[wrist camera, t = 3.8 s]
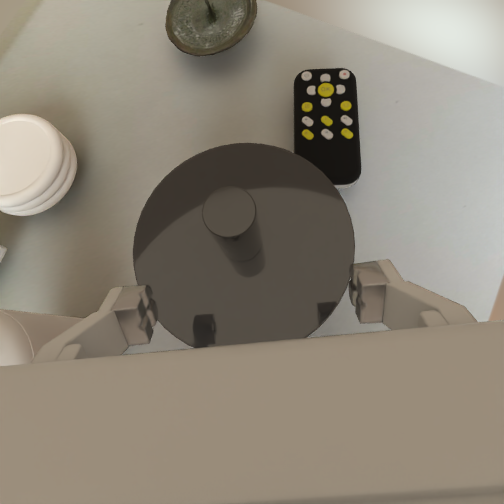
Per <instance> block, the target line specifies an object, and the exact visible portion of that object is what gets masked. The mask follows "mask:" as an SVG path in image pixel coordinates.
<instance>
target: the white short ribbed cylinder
mask: <svg viewBox="0 0 504 504" xmlns="http://www.w3.org/2000/svg"><path fill="white" fill-rule="evenodd" d="M76 171H77V158H76V153H75V150H74V148H73V146H72V144H71V143H70V141H69V140H68V139H67V138H66V137H65V136H64V135H62V133H61V132H60V131H58V130H57V129H56V128H55V127H54V126H53V125H52V124H51V123H50V122H48V121H47V120H45V119H43V118H41V117H39V116H36V115H31V114H14V115H9V116H6V117H3V118H0V211H2V212H4V213H7V214H11V215H18V216H29V215H34V214H38V213H41V212H43V211H45V210H47V209H49V208H51V207H52V206H54V205H55V204H56V203H58V202H59V201H60V200H61V199H62V198H63V197H64V196H65V194H66V193H67V192H68V190H69V189H70V187H71V185H72V183H73V181H74V178H75V175H76Z"/></svg>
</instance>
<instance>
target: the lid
mask: <svg viewBox="0 0 504 504" xmlns="http://www.w3.org/2000/svg"><path fill="white" fill-rule="evenodd" d="M256 14H257V3H256V0H171V2H170V5H169V8H168V10H167V16H166V26H165V27H166V31H167V35H168V37H169V39H170V40H171V42H172V43H173V44H174V45H175V46H176V47H177V48H178V49H179V50H181V51H182V52H185V53H188V54H191V55H194V56H206V55H214V54H217V53H220V52H222V51H225V50H227V49H229V48H230V47H232V46H234V45H235V44H236V43H238V42H239V41H240V40H241V39H242V38H243V37H244V36H245V35H246V34H247V33H248V32H249V30H250V29H251V27H252V25H253V23H254V20H255V18H256Z"/></svg>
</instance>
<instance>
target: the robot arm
mask: <svg viewBox="0 0 504 504" xmlns="http://www.w3.org/2000/svg"><path fill="white" fill-rule="evenodd" d="M349 274H350V276H351V280H350V281H349V296H350V300H351V303H352V305H353V306H355V307H356V315H357V317H358V320H359V322H360V324H365V323H380V322H383V324H384V325H386V326H387V327H388V328H390V329H391V330H389V331H378V332H367V333H356V334H345V335H334V336H324V337H313V338H302V339H291V340H280V341H269V342H259V343H248V344H237V345H226V346H215V347H204V348H193V349H183V350H172V351H161V352H150V353H139V354H128V355H121V354H122V353H123V352H124V351H125V350H126V349H127V348H128V346H133V345H141V344H149V343H150V340H151V337H152V334H153V329H152V327H153V326H154V325H155V324H156V322H157V319H158V309H157V304H156V301H154V300H153V299H152V298H151V296H152V294H153V292H152V289H151V286H149V285H136V286H125V287H124V286H123V287H114V288H111V289H110V291H109V293H108V294H107V296H106V298H105V300H104V301H103V303H102V305H101V306H100V308H99V310H98V311H97V312H93V313H92V314H90V315H89V316H87V317H86V318H84V319H83V320H81V321H80V322H78V323H77V324H75V325H74V326H72V327H71V328H69V329H68V330H66V331H65V332H63V333H61V334H60V335H58V336H57V337H55V338H54V339H52V340H51V341H49V342H48V343H46V344H45V345H43V346H42V347H41V348H40V350H39V351H38V353H37V354H36V356H35V357H34V358H33V360H32V361H31V363H30V364H20V365H9V366H0V504H504V320H498V321H487V322H477V320H476V319H475V318H474V317H473V316H472V315H471V313H470V312H469V311H468V310H467V309H466V307H465V306H462V305H460V304H458V303H456V302H453V301H451V300H449V299H447V298H444V297H442V296H440V295H438V294H436V293H433V292H431V291H429V290H427V289H424V288H422V287H420V286H418V285H416V284H413V283H411V282H409V281H406V282H405V281H404V280H403V278H402V277H401V276H400V274H399V273H398V271H397V270H396V268H395V267H394V265H393V264H392V263H391V261H390V260H388V259H386V260H379V261H372V262H364V263H356V264H350V267H349Z"/></svg>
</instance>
